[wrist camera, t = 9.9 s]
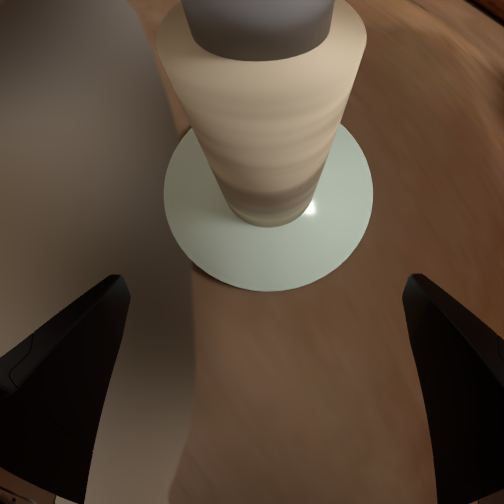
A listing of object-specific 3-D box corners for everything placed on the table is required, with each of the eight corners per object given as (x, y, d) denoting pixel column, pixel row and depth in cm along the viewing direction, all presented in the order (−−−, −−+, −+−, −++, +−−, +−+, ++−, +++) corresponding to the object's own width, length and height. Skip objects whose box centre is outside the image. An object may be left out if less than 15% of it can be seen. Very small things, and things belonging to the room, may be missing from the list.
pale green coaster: (344, 316, 17) (347, 317, 16) (141, 257, 18) (136, 255, 18) (380, 130, 19) (383, 124, 18) (206, 91, 20) (204, 84, 19)
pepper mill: (319, 224, 17) (426, 32, 3) (224, 231, 18) (103, 50, 4) (308, 141, 18) (343, -68, 4) (221, 147, 18) (153, -55, 5)
